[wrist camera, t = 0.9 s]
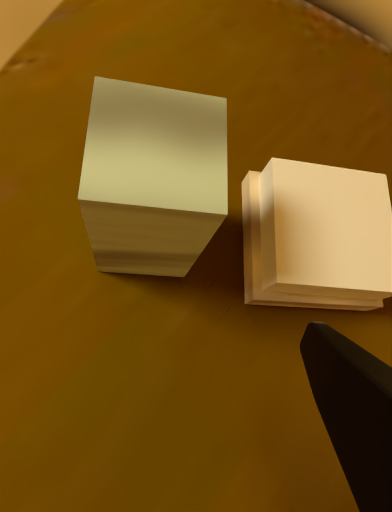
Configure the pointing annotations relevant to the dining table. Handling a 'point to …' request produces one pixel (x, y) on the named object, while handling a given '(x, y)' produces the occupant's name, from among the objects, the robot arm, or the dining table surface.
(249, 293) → the tower base slab
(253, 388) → the dining table surface
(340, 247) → the tower top slab
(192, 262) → the pillar block
